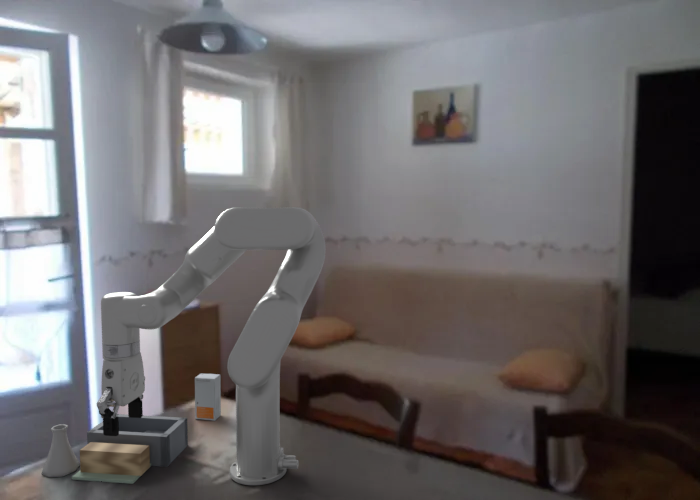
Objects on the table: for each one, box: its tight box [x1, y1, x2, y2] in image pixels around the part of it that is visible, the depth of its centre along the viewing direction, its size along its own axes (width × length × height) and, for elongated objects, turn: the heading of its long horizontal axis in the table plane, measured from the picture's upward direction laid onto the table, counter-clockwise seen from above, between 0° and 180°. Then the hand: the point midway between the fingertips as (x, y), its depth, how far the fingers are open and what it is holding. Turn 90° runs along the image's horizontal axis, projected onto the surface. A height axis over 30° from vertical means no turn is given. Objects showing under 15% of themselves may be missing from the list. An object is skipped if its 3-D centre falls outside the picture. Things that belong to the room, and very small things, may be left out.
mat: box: [71, 463, 152, 485], centre depth 118 cm, size 14×8×1 cm, turn 83°
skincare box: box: [194, 373, 222, 422], centre depth 148 cm, size 6×4×12 cm
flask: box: [41, 423, 80, 478], centre depth 118 cm, size 7×7×10 cm
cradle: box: [86, 413, 189, 468], centre depth 127 cm, size 19×11×7 cm, turn 83°
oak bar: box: [79, 442, 151, 477], centre depth 118 cm, size 14×4×5 cm, turn 84°
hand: (123, 425), depth 117 cm, fingers open, 9 cm apart
